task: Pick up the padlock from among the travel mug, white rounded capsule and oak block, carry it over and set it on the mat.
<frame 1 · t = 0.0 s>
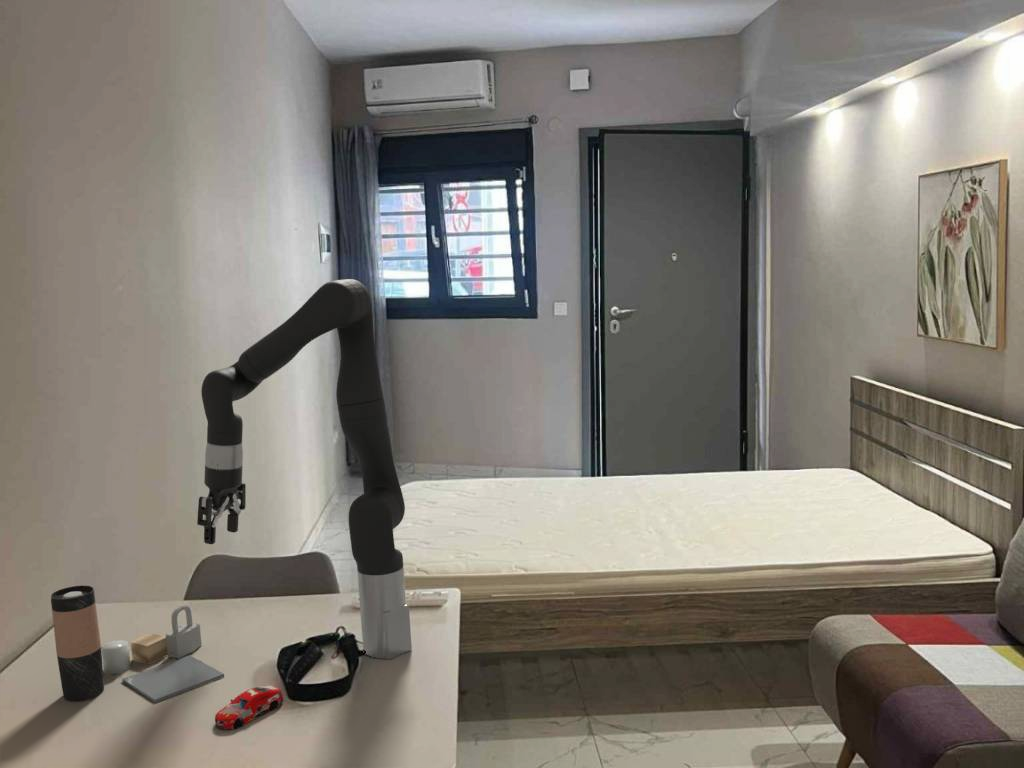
hand: (221, 537, 205), 22 cm above the table, tool pointing down, fingers open, 8 cm apart
white rounded capsule: (117, 668, 195), on the table
mat: (173, 679, 189), on the table
padlock: (185, 652, 202), on the table
travel mug: (84, 694, 185), on the table
oak block: (150, 657, 200), on the table
race car: (249, 716, 173), on the table
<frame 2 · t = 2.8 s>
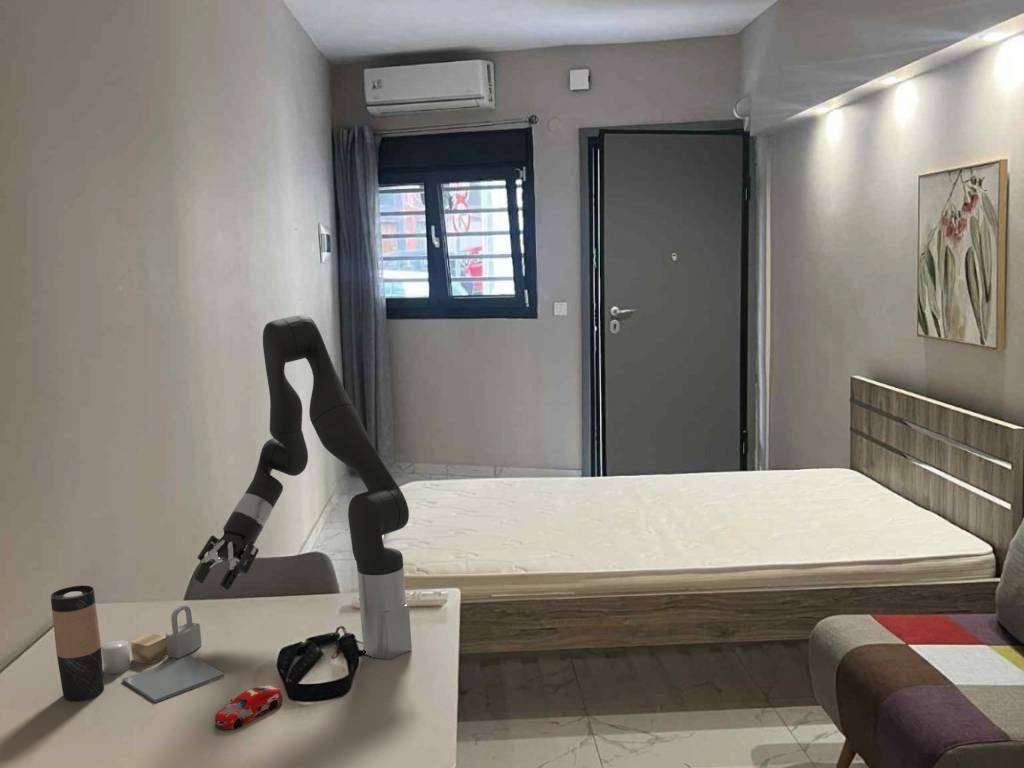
hand: (210, 584, 207), 12 cm above the table, tool tilted 45°, fingers open, 8 cm apart
nothing on the table moved.
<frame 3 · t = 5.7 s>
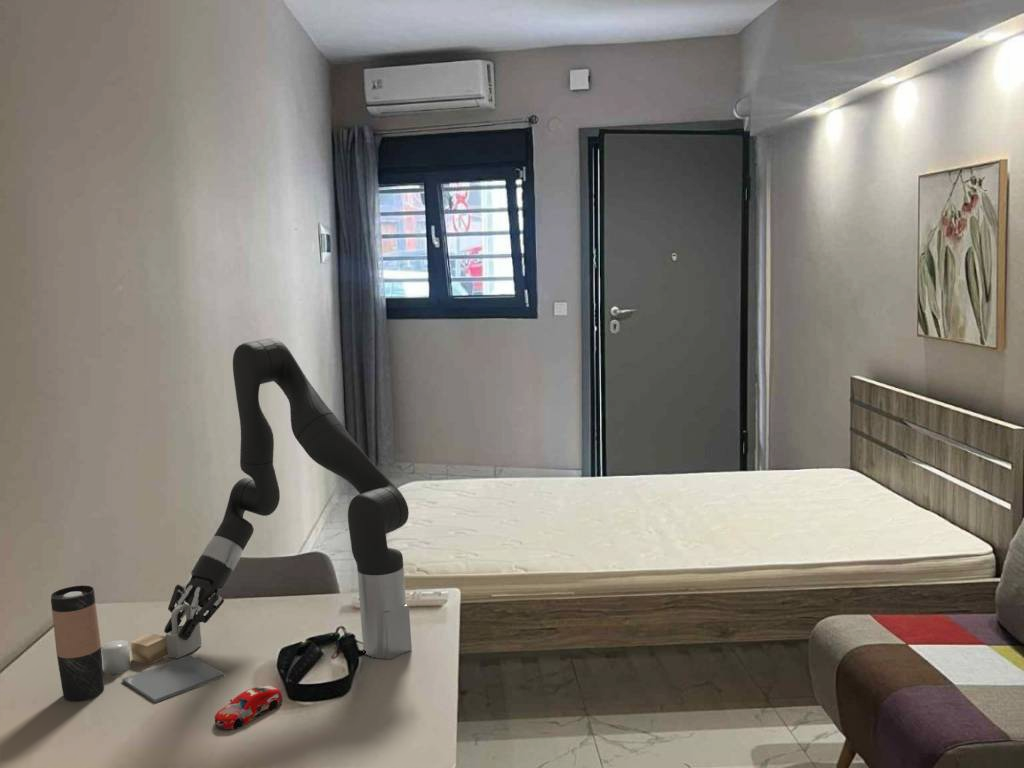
hand: (175, 635, 200), 4 cm above the table, tool tilted 45°, fingers closed on padlock, 4 cm apart
padlock: (185, 652, 202), on the table, touching gripper
everything else where it was.
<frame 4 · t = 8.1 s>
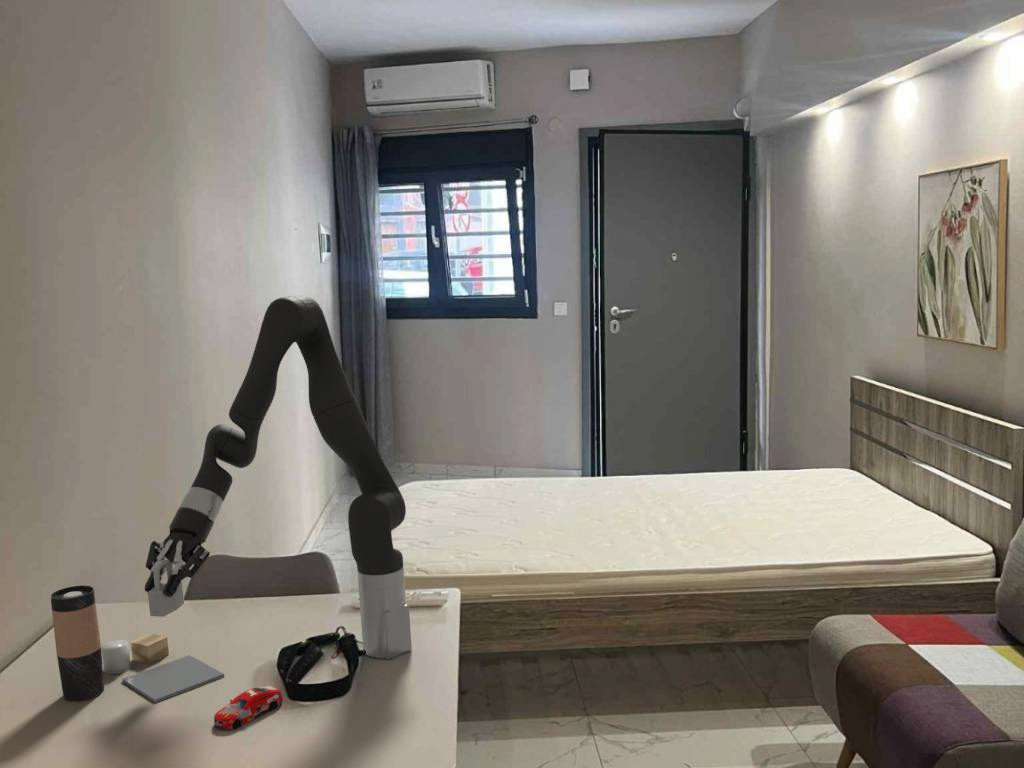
hand: (157, 593, 186), 18 cm above the table, tool tilted 45°, fingers closed on padlock, 4 cm apart
padlock: (167, 611, 188), point 13 cm above the table, touching gripper
everything else where it was.
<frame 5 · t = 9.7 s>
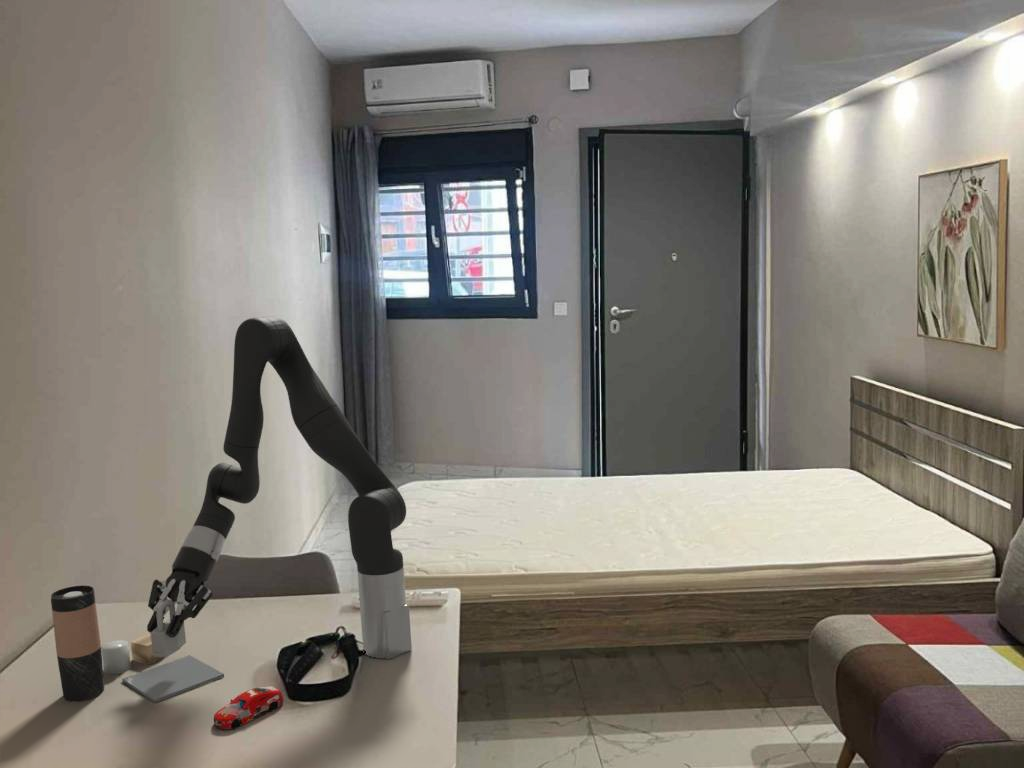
hand: (160, 633, 186), 10 cm above the table, tool tilted 45°, fingers closed on padlock, 4 cm apart
padlock: (169, 651, 188), point 6 cm above the table, touching gripper
everything else where it was.
when the fingers open (6 cm above the table, at t = 10.8 s): padlock drops 1 cm, resting on mat.
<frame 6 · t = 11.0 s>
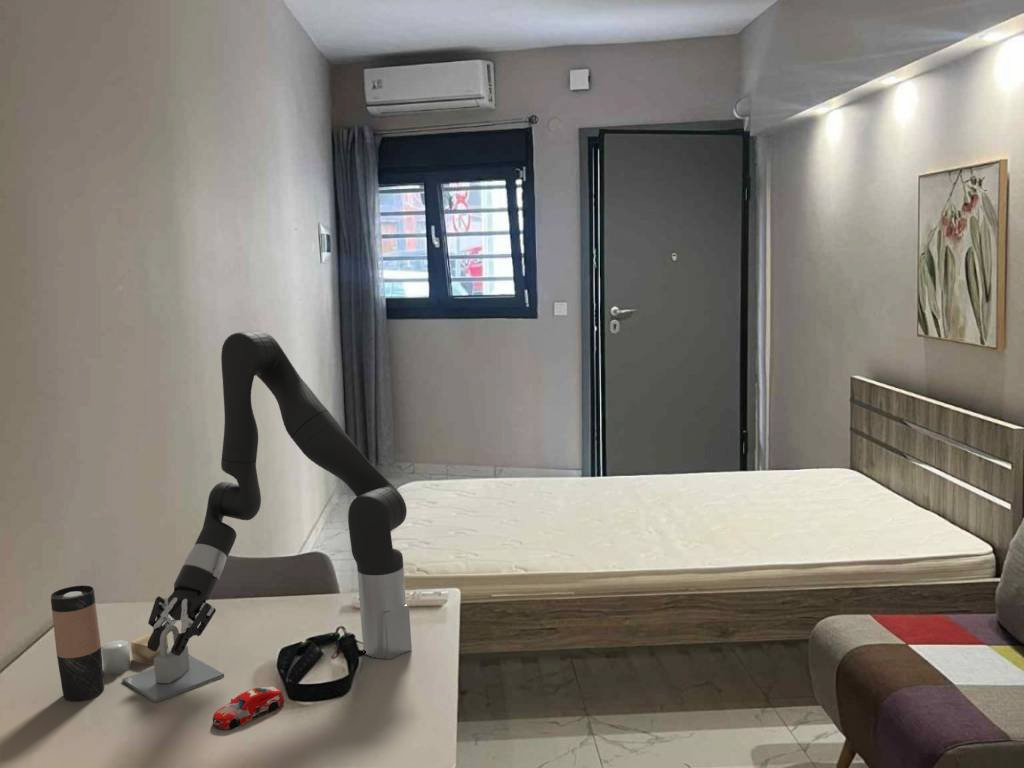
hand: (163, 651, 186), 6 cm above the table, tool tilted 45°, fingers open, 5 cm apart
padlock: (173, 676, 189), resting on mat
everything else where it was.
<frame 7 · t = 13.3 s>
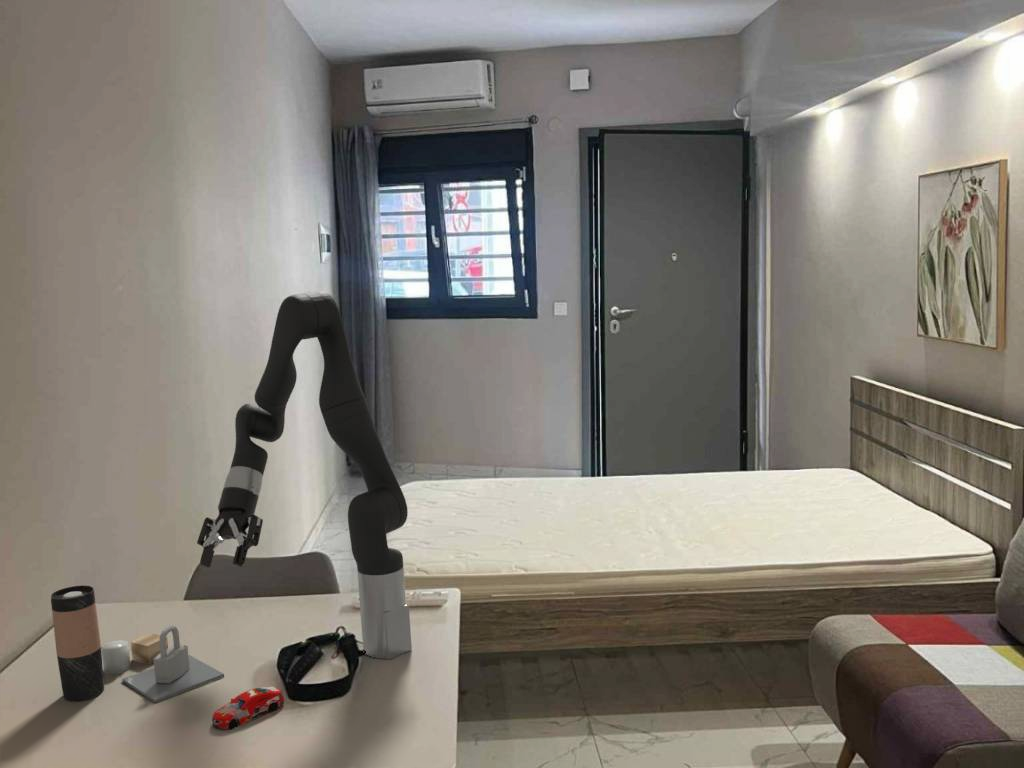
hand: (221, 566, 198), 18 cm above the table, tool tilted 40°, fingers open, 8 cm apart
nothing on the table moved.
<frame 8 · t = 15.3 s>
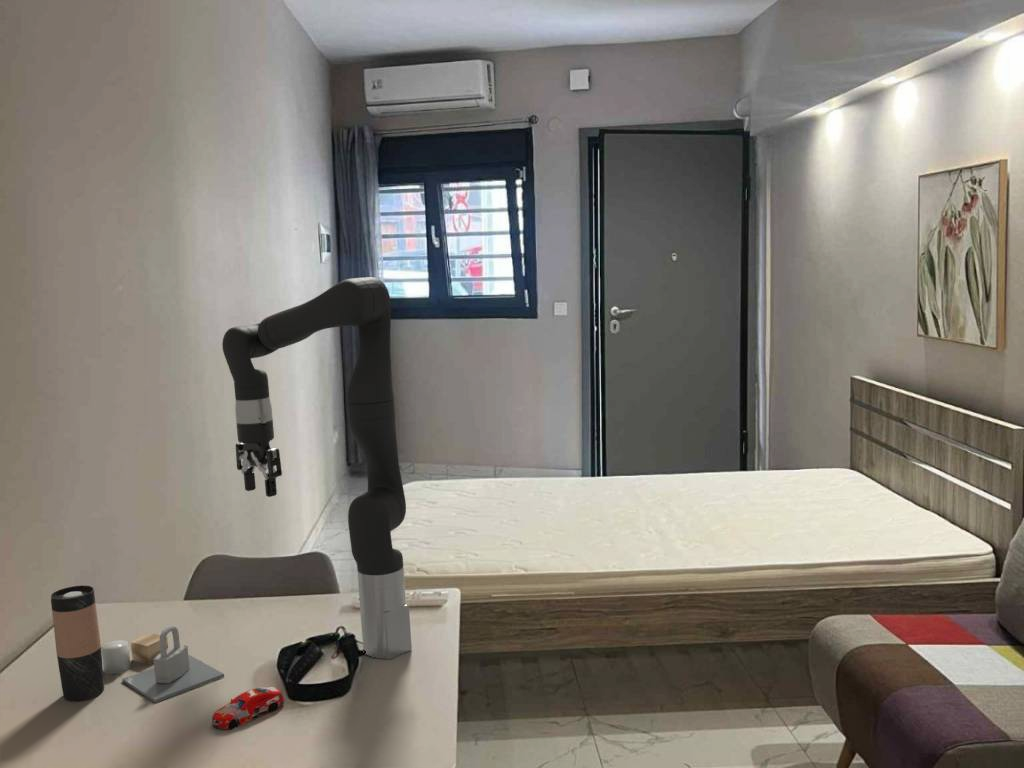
hand: (260, 493, 209), 30 cm above the table, tool pointing down, fingers open, 8 cm apart
nothing on the table moved.
at the end: padlock inside the target area on the mat (0.2 cm from its centre), point 0.4 cm above the mat's base; the gripper is holding nothing; padlock moved 13.4 cm from its start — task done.
